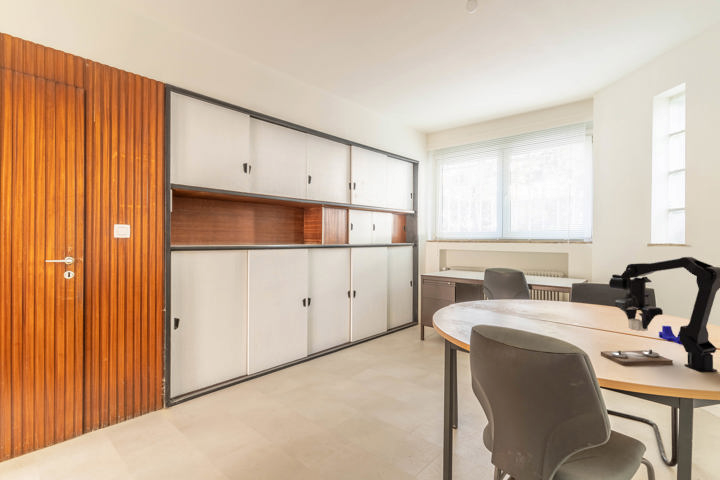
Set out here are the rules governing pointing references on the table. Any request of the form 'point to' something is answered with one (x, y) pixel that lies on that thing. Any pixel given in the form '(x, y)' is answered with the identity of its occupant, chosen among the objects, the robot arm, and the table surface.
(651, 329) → the table surface
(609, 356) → the gear board
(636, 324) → the loose gear
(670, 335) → the blue bracket
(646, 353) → the gear peg base
